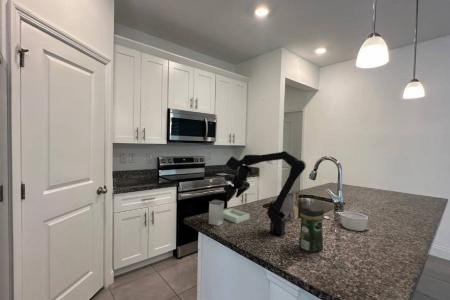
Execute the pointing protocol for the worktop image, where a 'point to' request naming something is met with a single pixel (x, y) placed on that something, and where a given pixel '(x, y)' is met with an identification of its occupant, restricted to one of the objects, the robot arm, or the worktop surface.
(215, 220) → the tin
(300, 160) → the robot arm
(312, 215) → the coffee jar
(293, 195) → the coffee box
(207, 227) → the worktop surface
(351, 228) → the ramekin
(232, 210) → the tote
